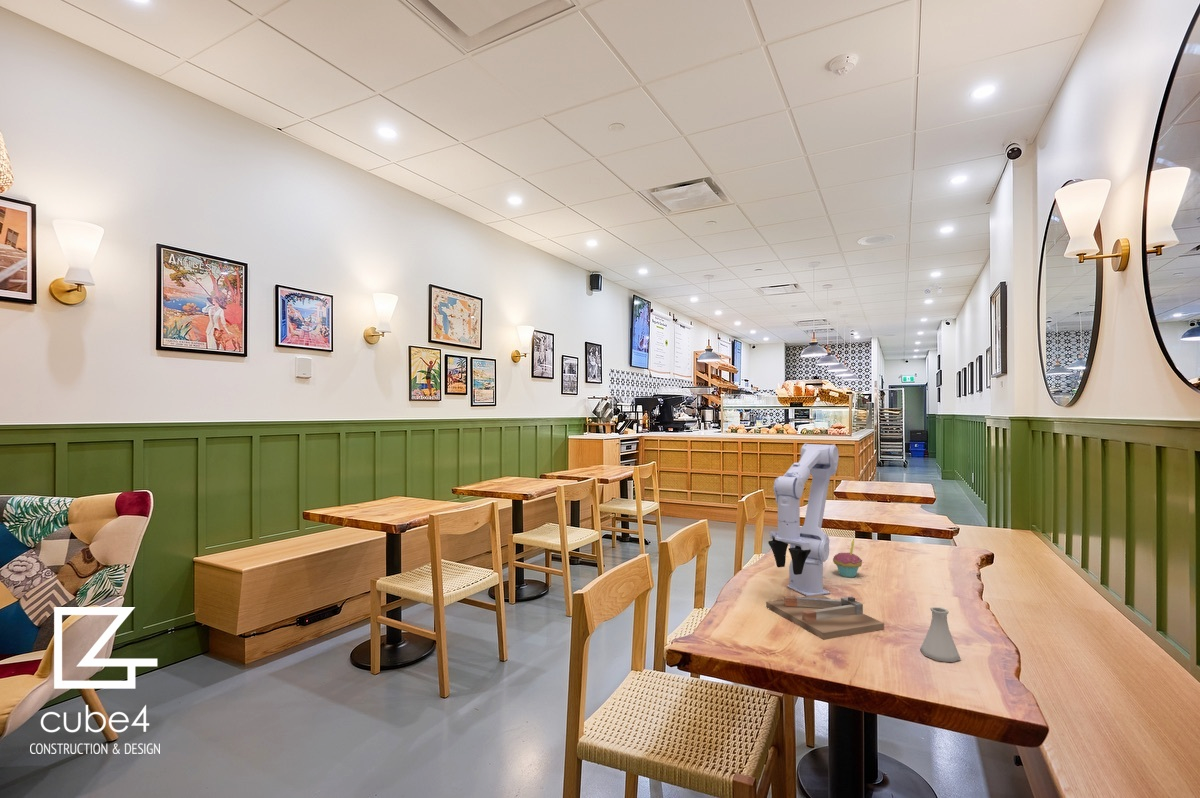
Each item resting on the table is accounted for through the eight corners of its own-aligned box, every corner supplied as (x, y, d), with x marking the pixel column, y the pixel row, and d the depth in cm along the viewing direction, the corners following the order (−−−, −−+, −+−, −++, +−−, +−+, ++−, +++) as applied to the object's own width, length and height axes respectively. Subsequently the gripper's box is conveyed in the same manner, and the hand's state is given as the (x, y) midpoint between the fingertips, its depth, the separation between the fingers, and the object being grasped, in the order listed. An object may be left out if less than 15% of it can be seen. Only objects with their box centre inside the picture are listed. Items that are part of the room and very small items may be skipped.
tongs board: (766, 607, 149) (766, 589, 149) (820, 599, 155) (820, 582, 155) (823, 639, 128) (823, 618, 128) (884, 629, 134) (884, 609, 134)
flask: (913, 649, 123) (912, 604, 123) (944, 647, 124) (943, 603, 124) (935, 664, 116) (935, 616, 116) (968, 662, 117) (967, 615, 117)
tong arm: (840, 607, 144) (840, 599, 144) (841, 609, 143) (841, 601, 143) (784, 603, 147) (784, 595, 147) (784, 606, 145) (784, 598, 145)
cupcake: (863, 573, 179) (863, 536, 179) (860, 580, 172) (859, 542, 172) (835, 569, 184) (834, 533, 184) (830, 576, 176) (830, 538, 177)
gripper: (760, 516, 157) (760, 564, 157) (793, 526, 143) (794, 579, 143) (781, 514, 159) (781, 562, 159) (816, 524, 145) (816, 576, 145)
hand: (789, 570), depth 151 cm, fingers open, 7 cm apart
